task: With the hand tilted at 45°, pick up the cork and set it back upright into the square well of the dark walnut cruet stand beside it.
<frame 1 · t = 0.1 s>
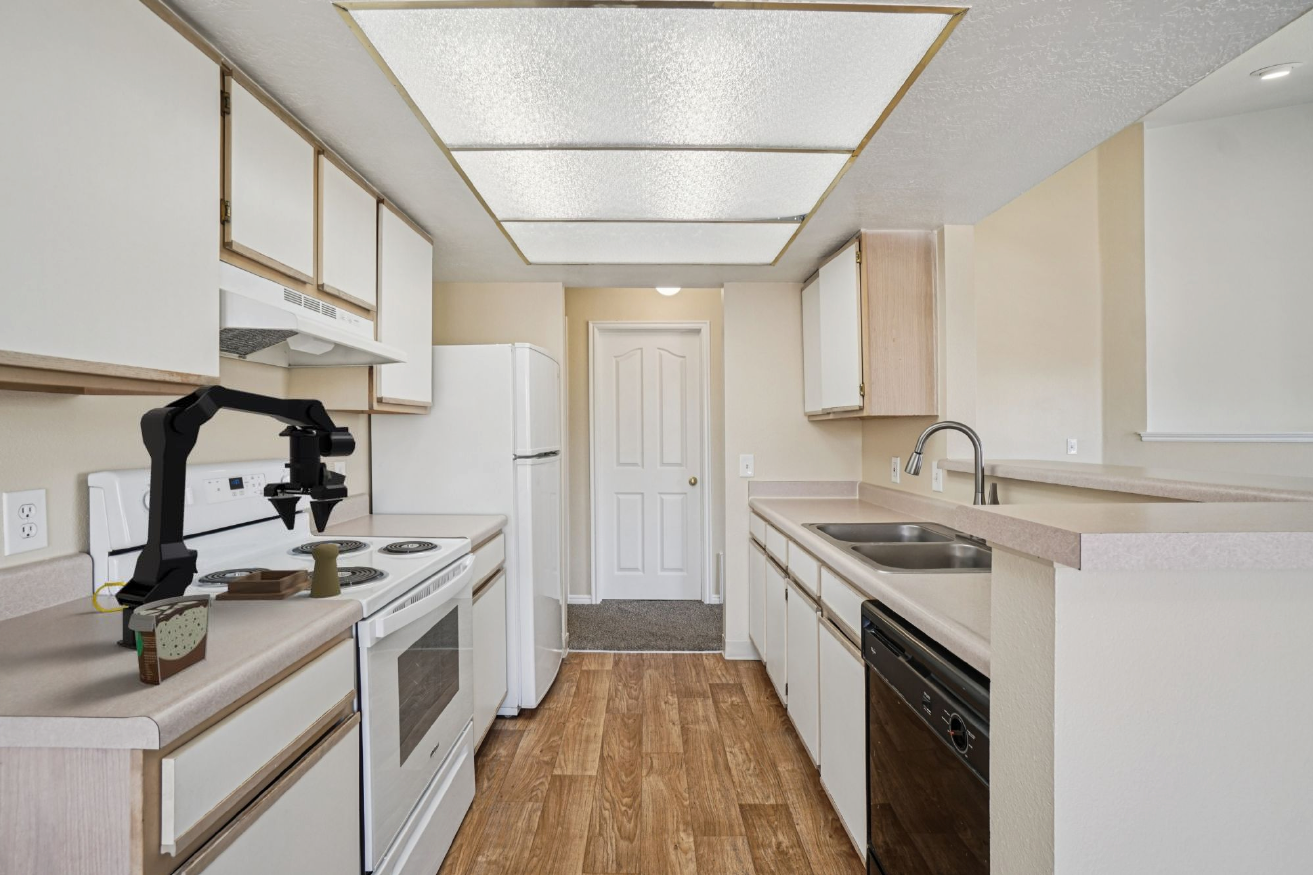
hand: (305, 531, 126), 15 cm above the counter, tool pointing down, fingers open, 9 cm apart
cork: (325, 595, 130), on the counter
watch: (113, 611, 118), on the counter
food container: (162, 673, 87), on the counter
cruet stand: (269, 591, 133), on the counter
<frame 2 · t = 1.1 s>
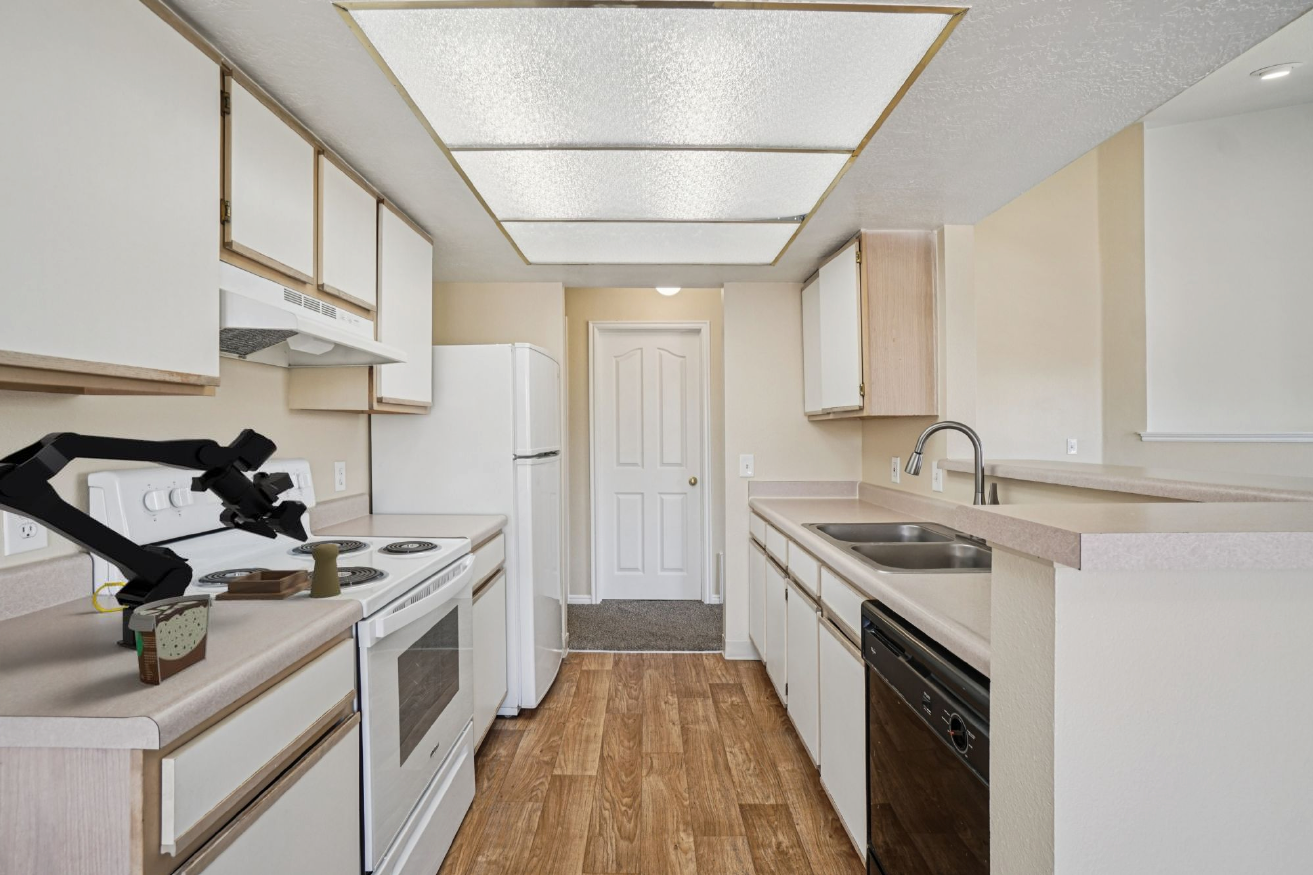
hand: (290, 538, 123), 13 cm above the counter, tool tilted 45°, fingers open, 9 cm apart
nothing on the counter moved.
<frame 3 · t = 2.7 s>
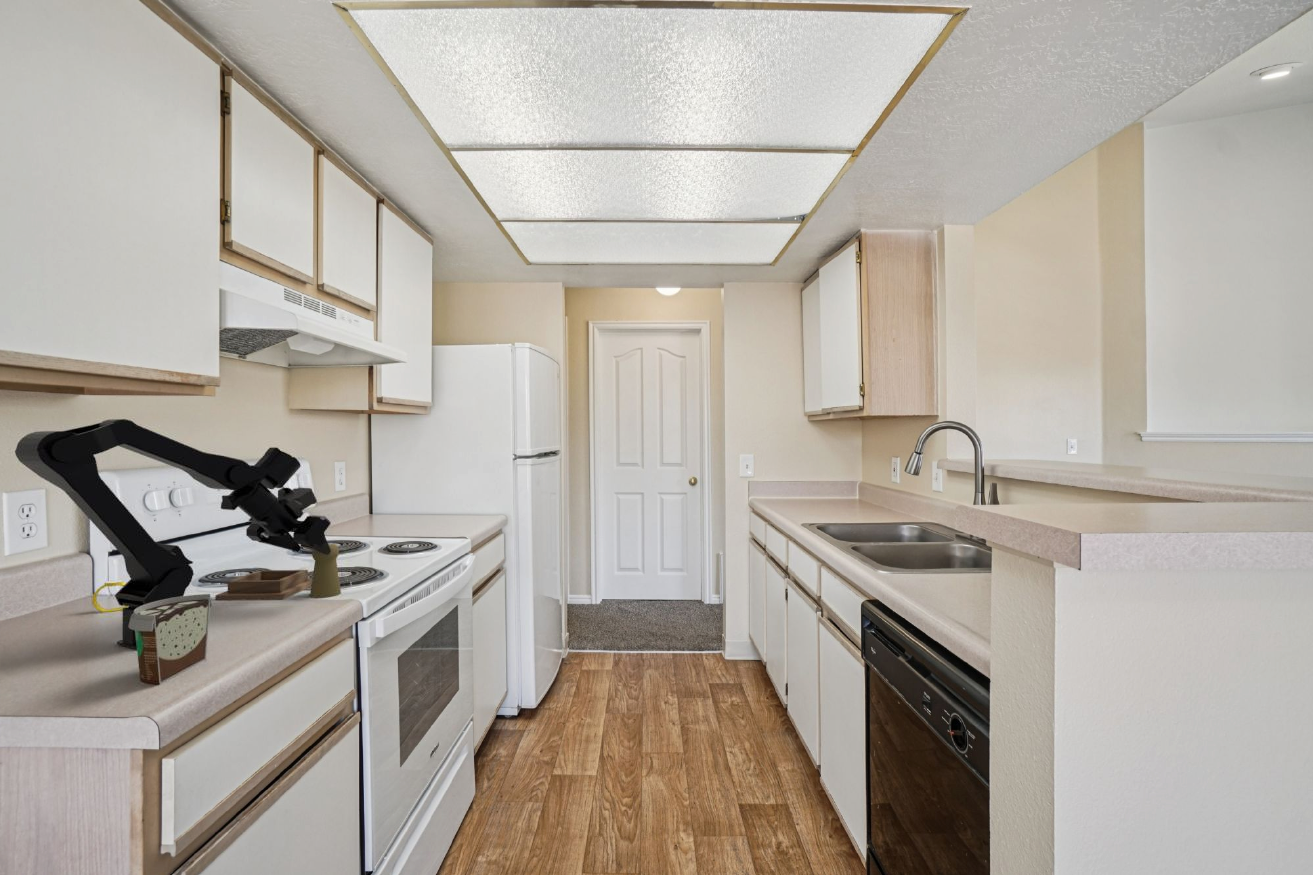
hand: (314, 551, 128), 10 cm above the counter, tool tilted 45°, fingers open, 9 cm apart
nothing on the counter moved.
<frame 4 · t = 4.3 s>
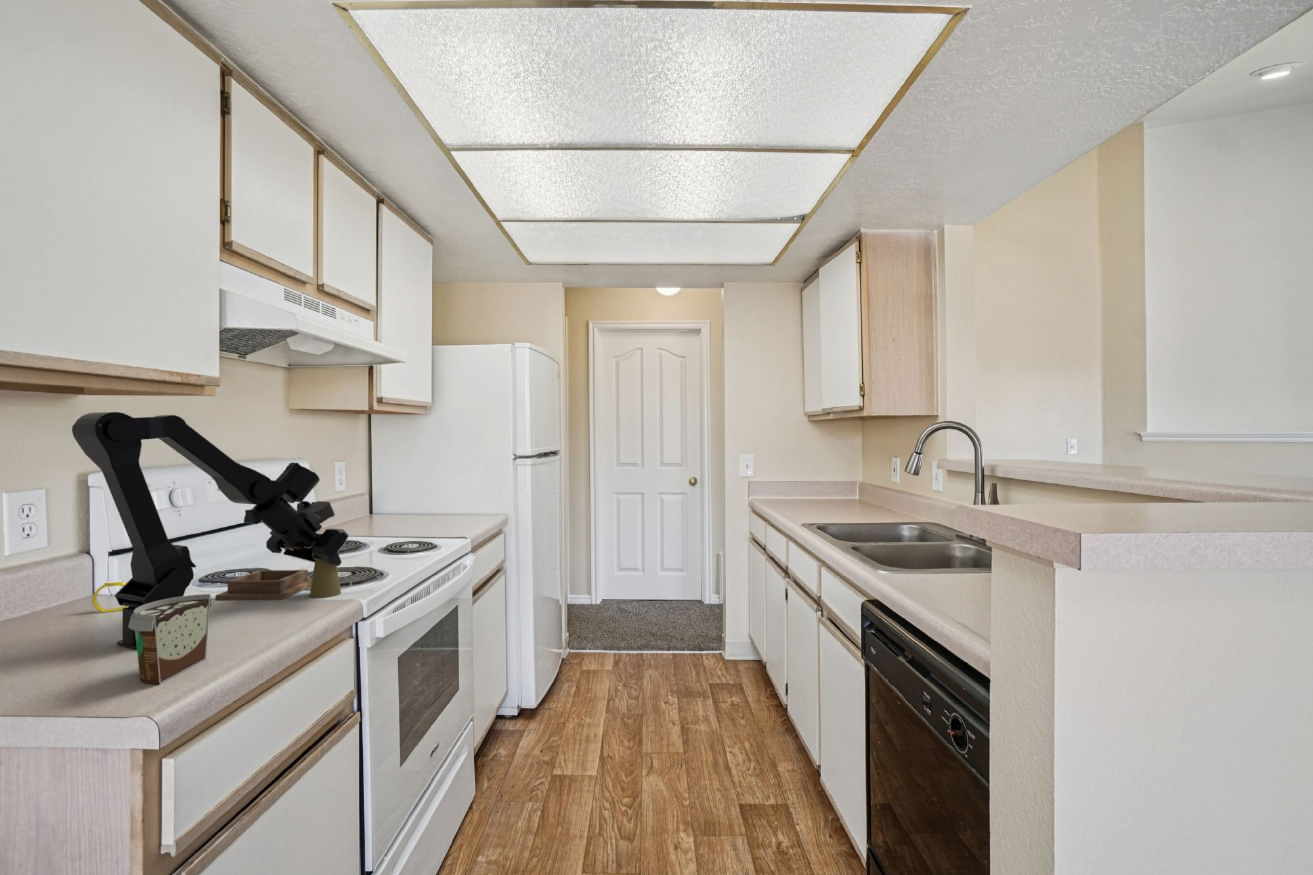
hand: (331, 563, 132), 7 cm above the counter, tool tilted 45°, fingers closed on cork, 5 cm apart
cork: (325, 595, 130), on the counter, touching gripper
everything else where it was.
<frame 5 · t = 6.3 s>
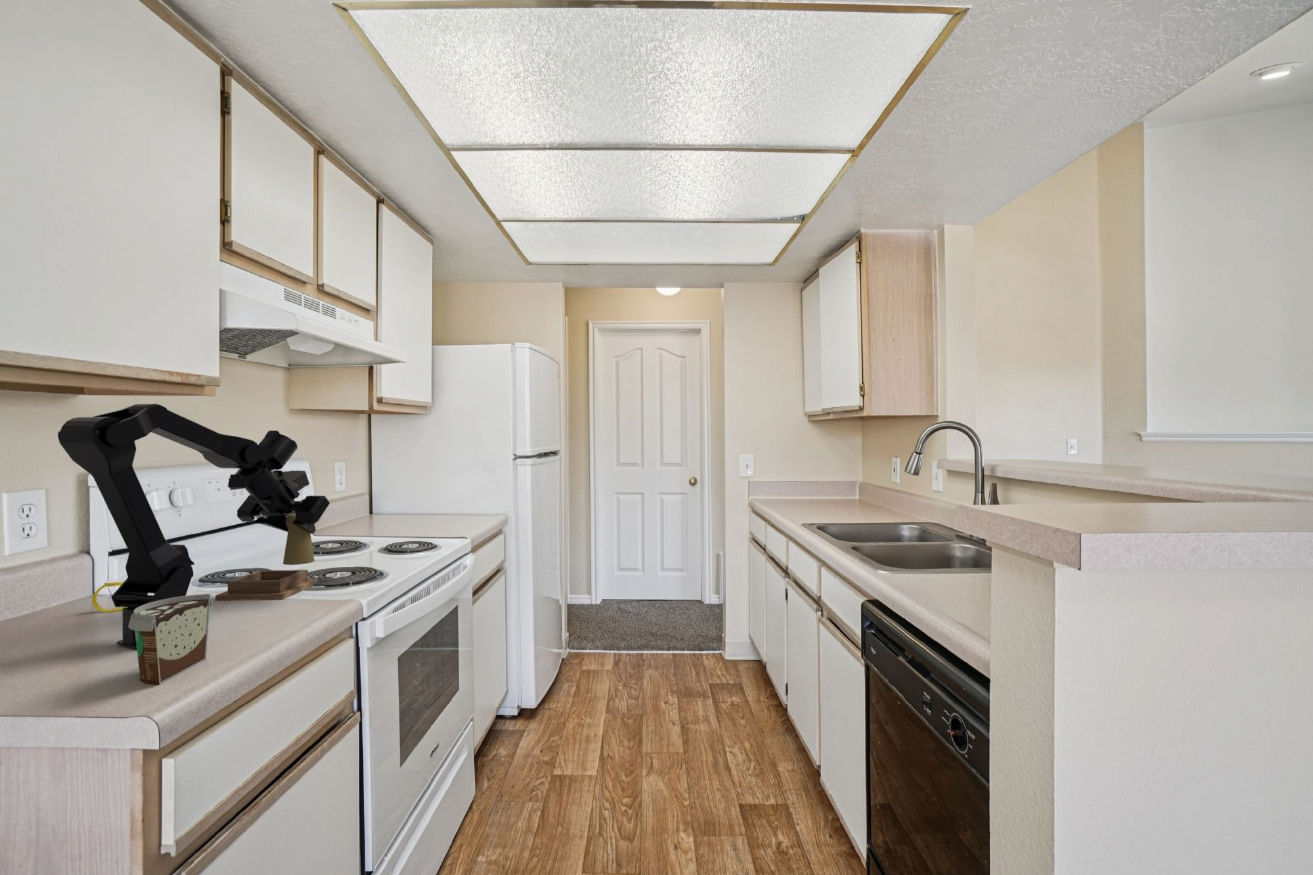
hand: (303, 531, 134), 13 cm above the counter, tool tilted 45°, fingers closed on cork, 5 cm apart
cork: (298, 563, 132), point 6 cm above the counter, touching gripper
everything else where it was.
when the fingers open (9 cm above the counter, at t = 8.3 s): cork drops 1 cm, resting on cruet stand.
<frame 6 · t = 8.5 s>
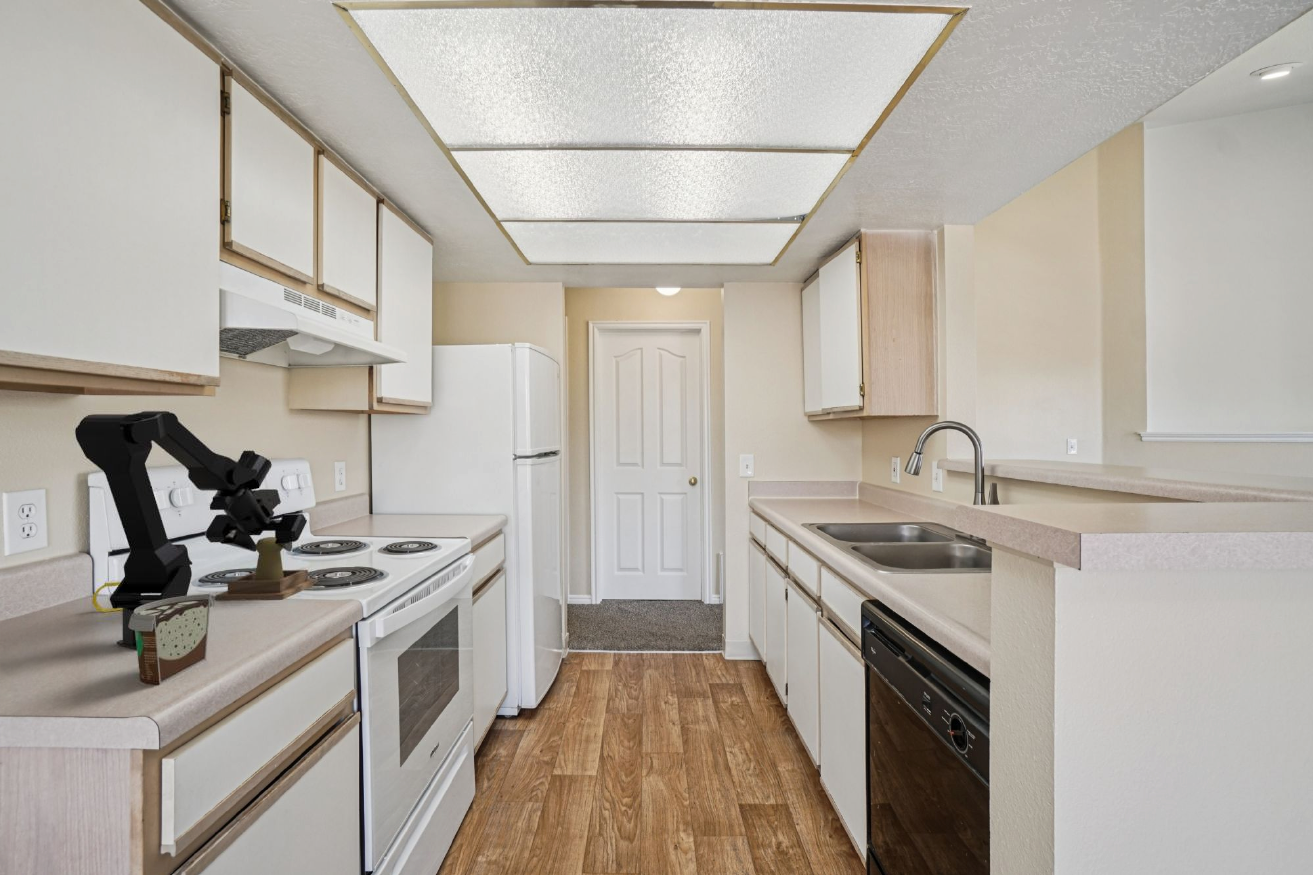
hand: (273, 549, 134), 9 cm above the counter, tool tilted 45°, fingers open, 7 cm apart
cork: (269, 587, 133), point 1 cm above the counter, touching cruet stand
everything else where it was.
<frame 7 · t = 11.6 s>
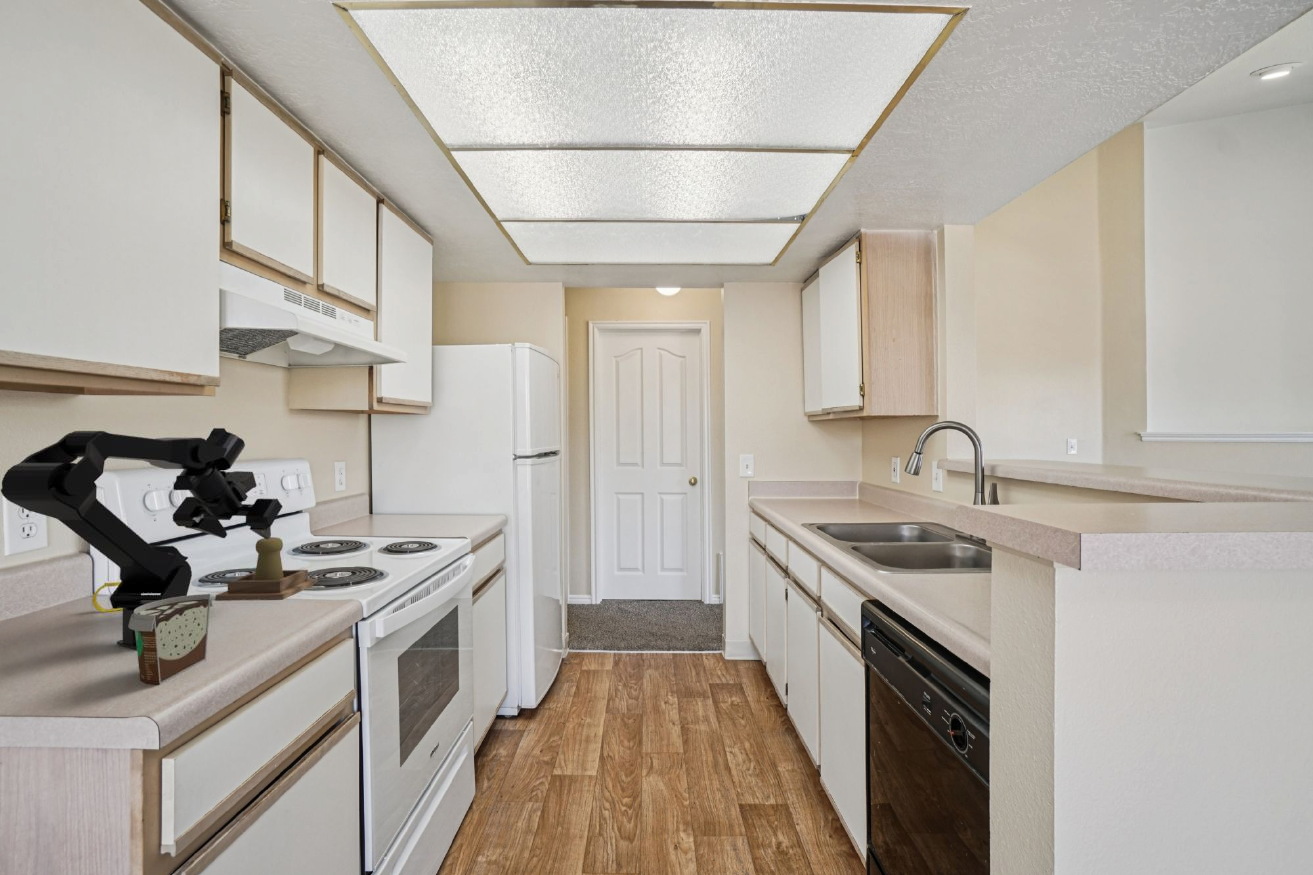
hand: (247, 536, 125), 14 cm above the counter, tool tilted 45°, fingers open, 9 cm apart
nothing on the counter moved.
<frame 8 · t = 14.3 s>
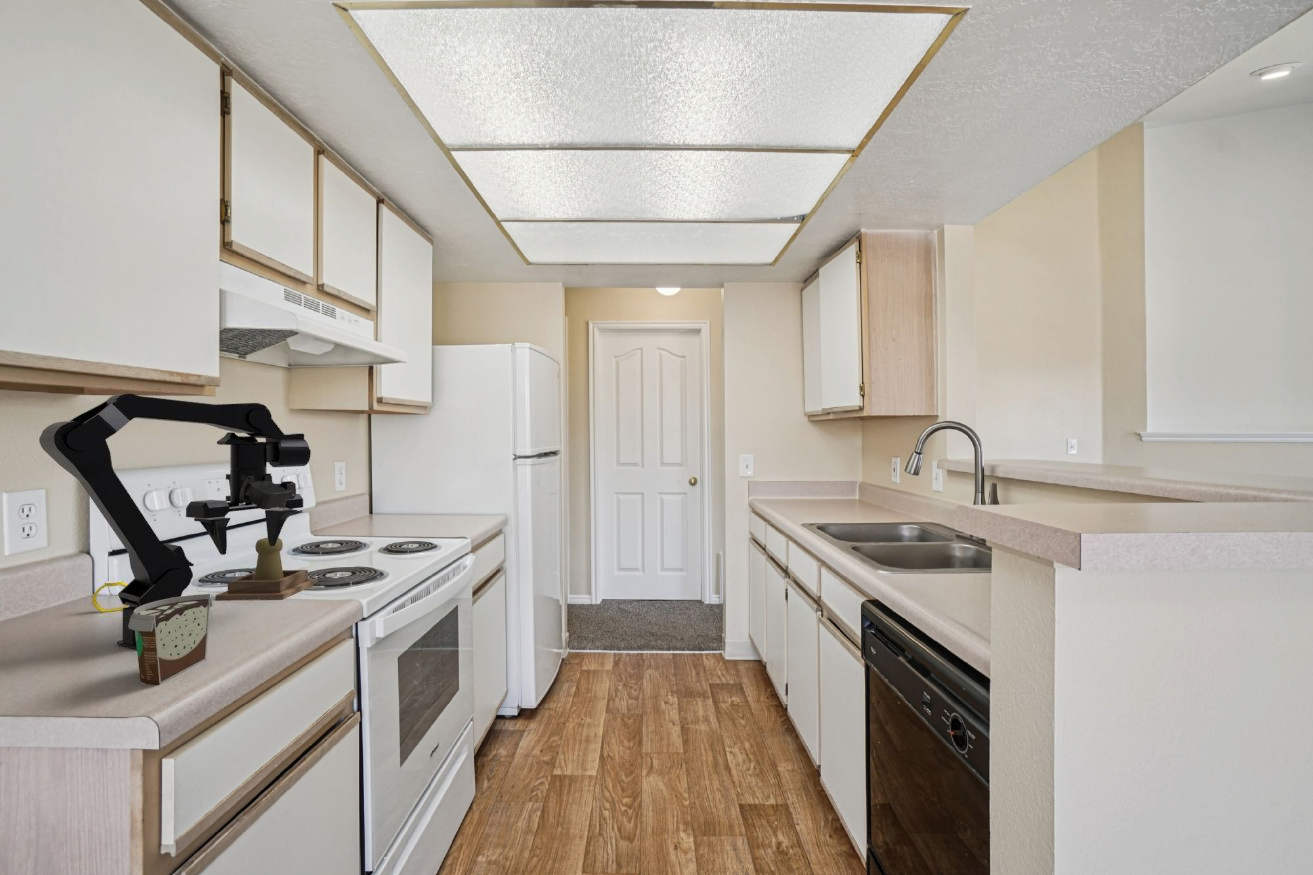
hand: (248, 550, 113), 13 cm above the counter, tool pointing down, fingers open, 9 cm apart
nothing on the counter moved.
at the end: cork 0.1 cm off-centre on the cruet stand, point 0.8 cm above the cruet stand's base; cork tilted 0°; the gripper is holding nothing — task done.
